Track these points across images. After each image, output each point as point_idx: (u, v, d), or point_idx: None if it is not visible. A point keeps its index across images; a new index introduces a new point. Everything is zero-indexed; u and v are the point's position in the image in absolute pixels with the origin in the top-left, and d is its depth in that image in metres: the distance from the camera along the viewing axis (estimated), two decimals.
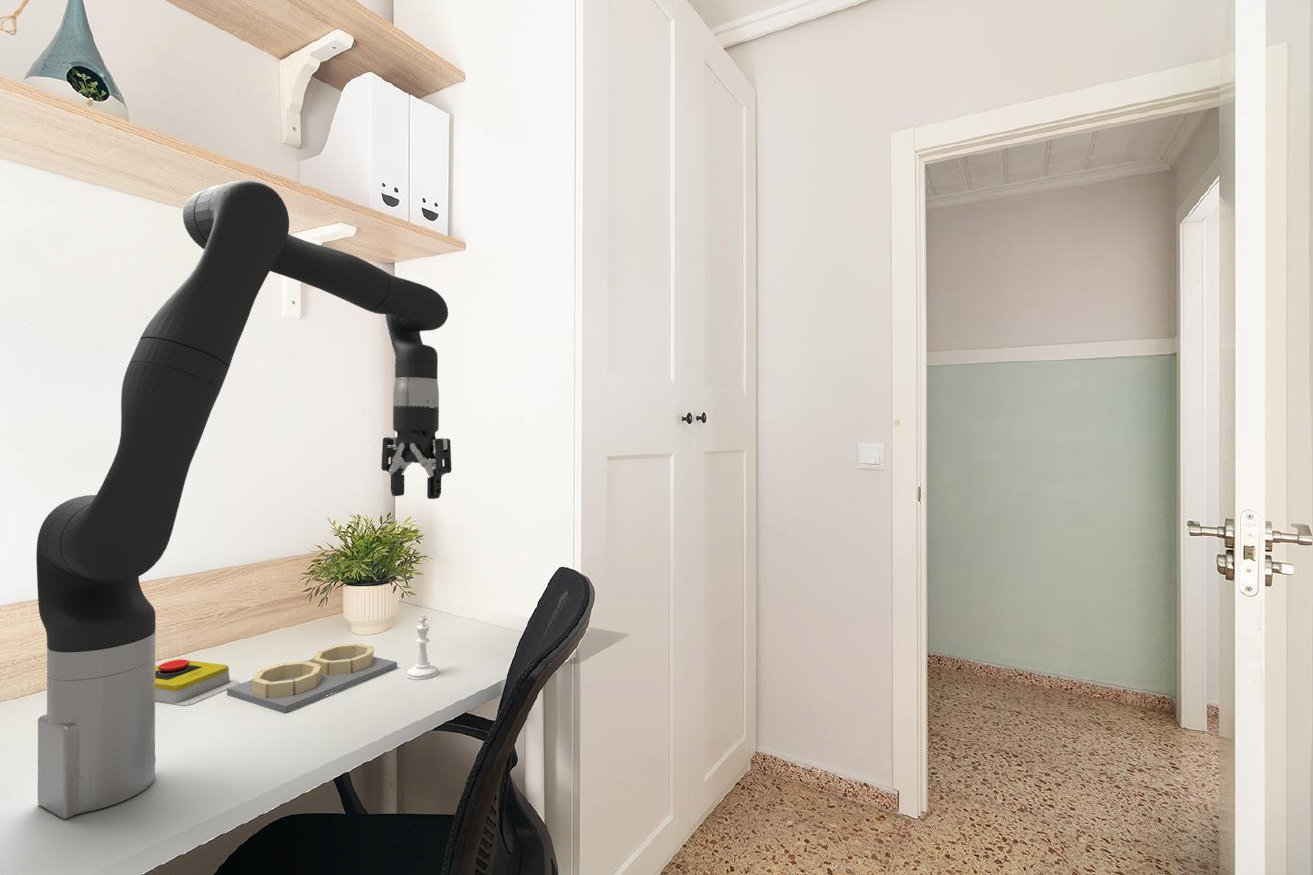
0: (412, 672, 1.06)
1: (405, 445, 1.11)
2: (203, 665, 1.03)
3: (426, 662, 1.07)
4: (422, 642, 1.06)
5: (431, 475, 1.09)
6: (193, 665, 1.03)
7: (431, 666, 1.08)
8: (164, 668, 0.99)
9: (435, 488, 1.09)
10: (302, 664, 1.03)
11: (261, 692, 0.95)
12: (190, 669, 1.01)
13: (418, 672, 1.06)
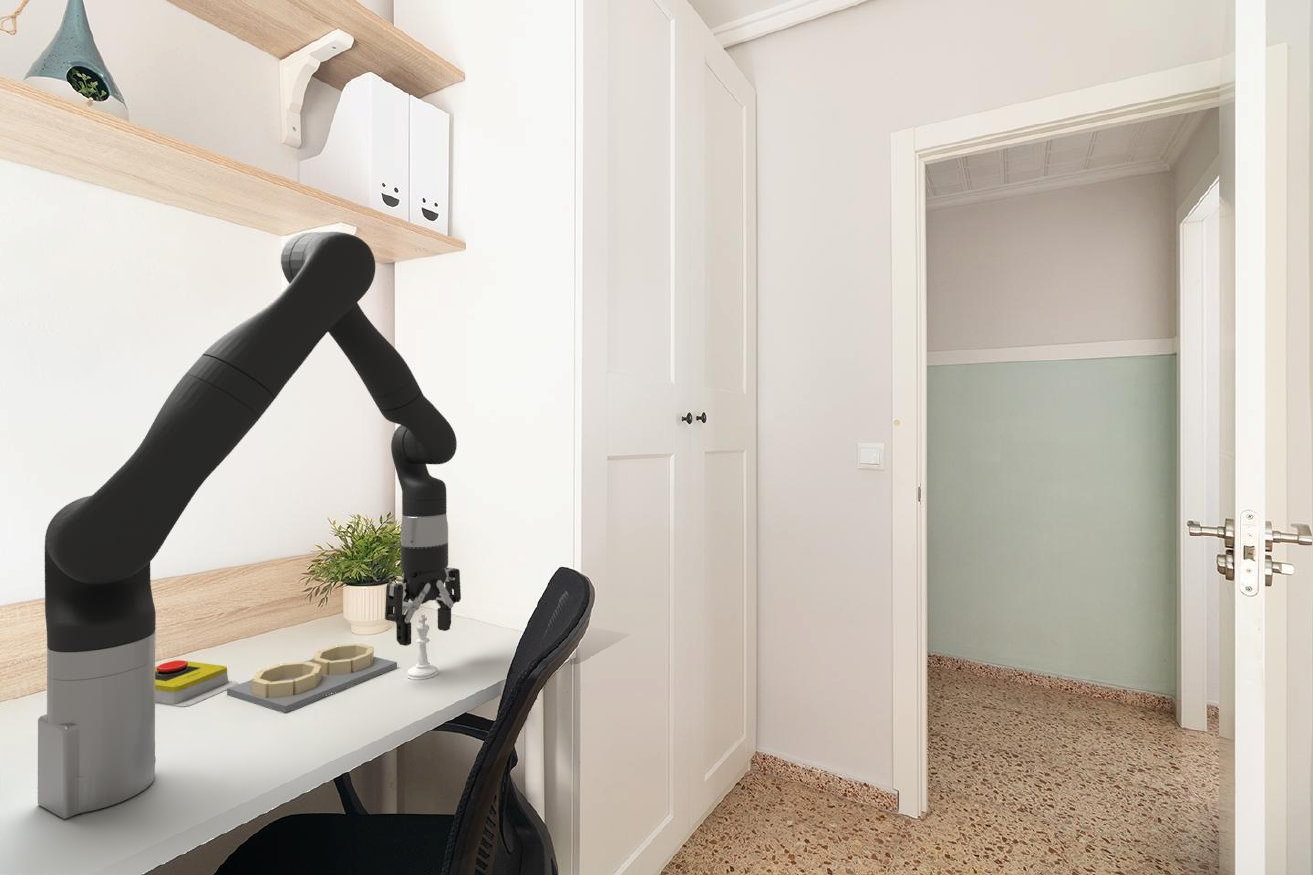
0: (412, 672, 1.06)
1: (429, 585, 1.06)
2: (201, 666, 1.03)
3: (426, 662, 1.07)
4: (422, 642, 1.06)
5: (451, 606, 1.11)
6: (191, 666, 1.03)
7: (431, 666, 1.08)
8: (162, 669, 0.98)
9: (450, 618, 1.12)
10: (302, 664, 1.03)
11: (261, 692, 0.95)
12: (188, 670, 1.01)
13: (418, 672, 1.06)
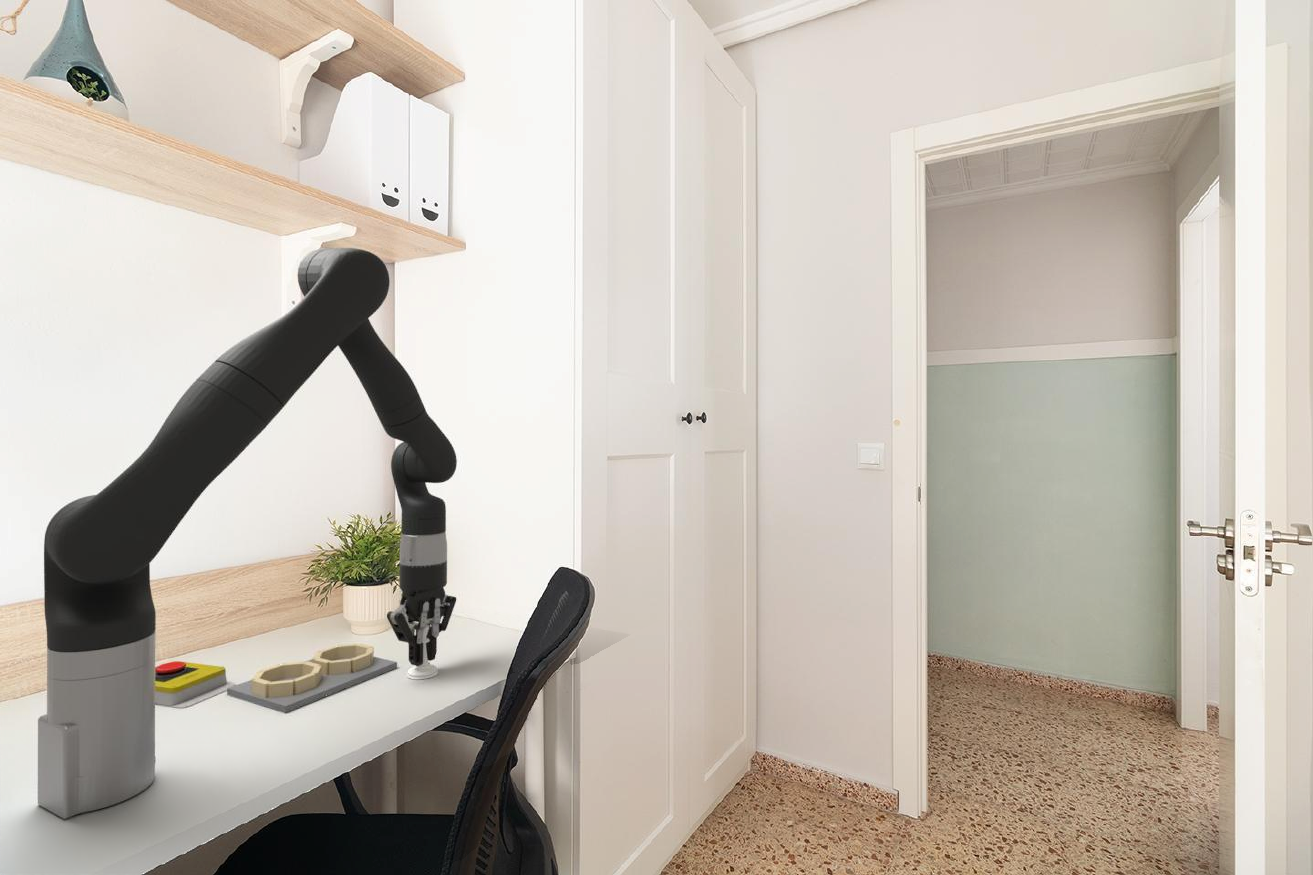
0: (412, 671, 1.06)
1: (427, 602, 1.06)
2: (200, 667, 1.02)
3: (426, 662, 1.07)
4: (422, 642, 1.06)
5: (437, 635, 1.09)
6: (189, 667, 1.02)
7: (431, 666, 1.08)
8: (160, 670, 0.98)
9: (435, 647, 1.09)
10: (302, 664, 1.03)
11: (261, 692, 0.95)
12: (187, 671, 1.01)
13: (418, 671, 1.06)
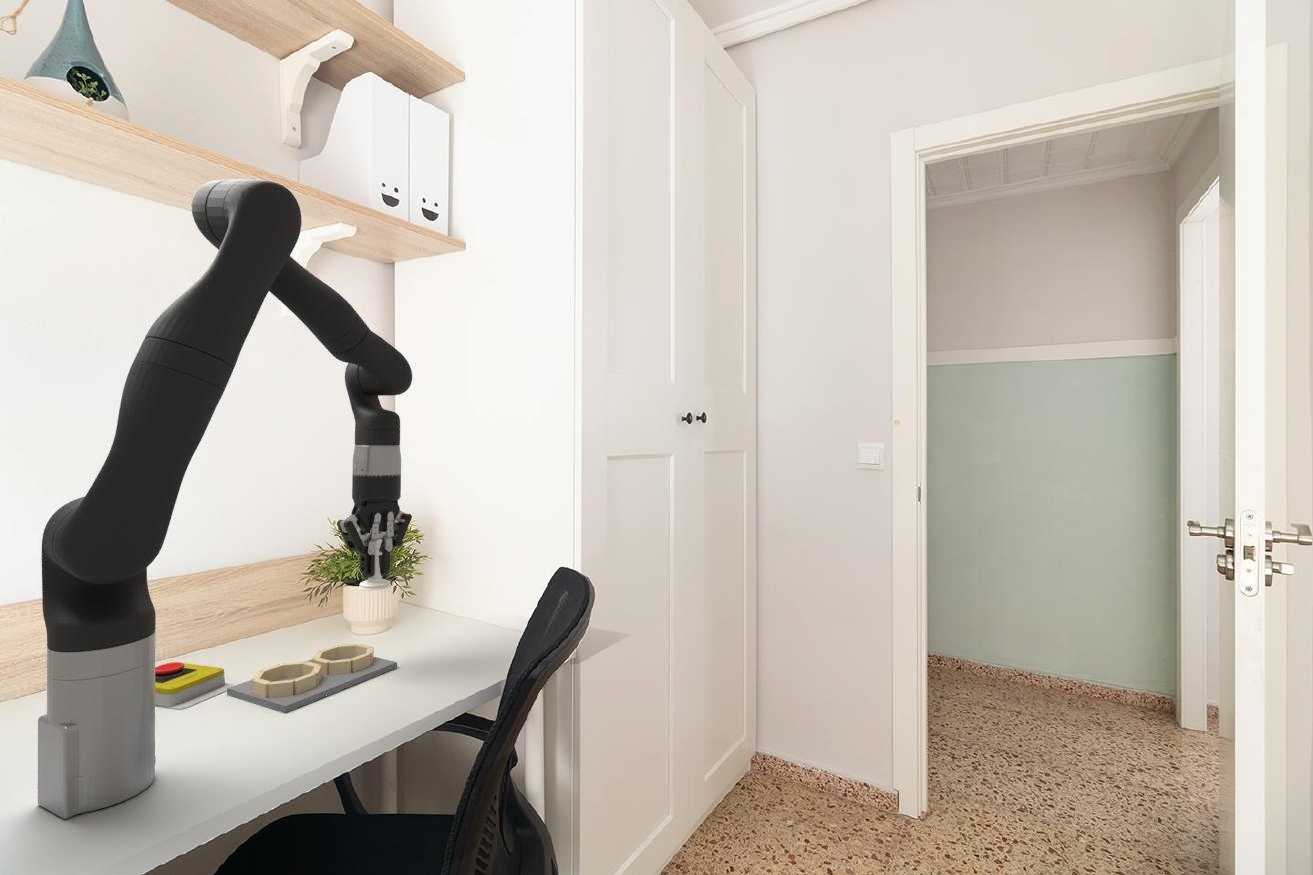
0: (364, 583, 1.06)
1: (379, 513, 1.06)
2: (198, 668, 1.02)
3: (378, 575, 1.07)
4: (374, 554, 1.07)
5: (390, 549, 1.09)
6: (188, 668, 1.02)
7: (384, 579, 1.08)
8: (158, 671, 0.97)
9: (389, 562, 1.09)
10: (302, 664, 1.03)
11: (261, 692, 0.95)
12: (185, 672, 1.00)
13: (369, 583, 1.06)
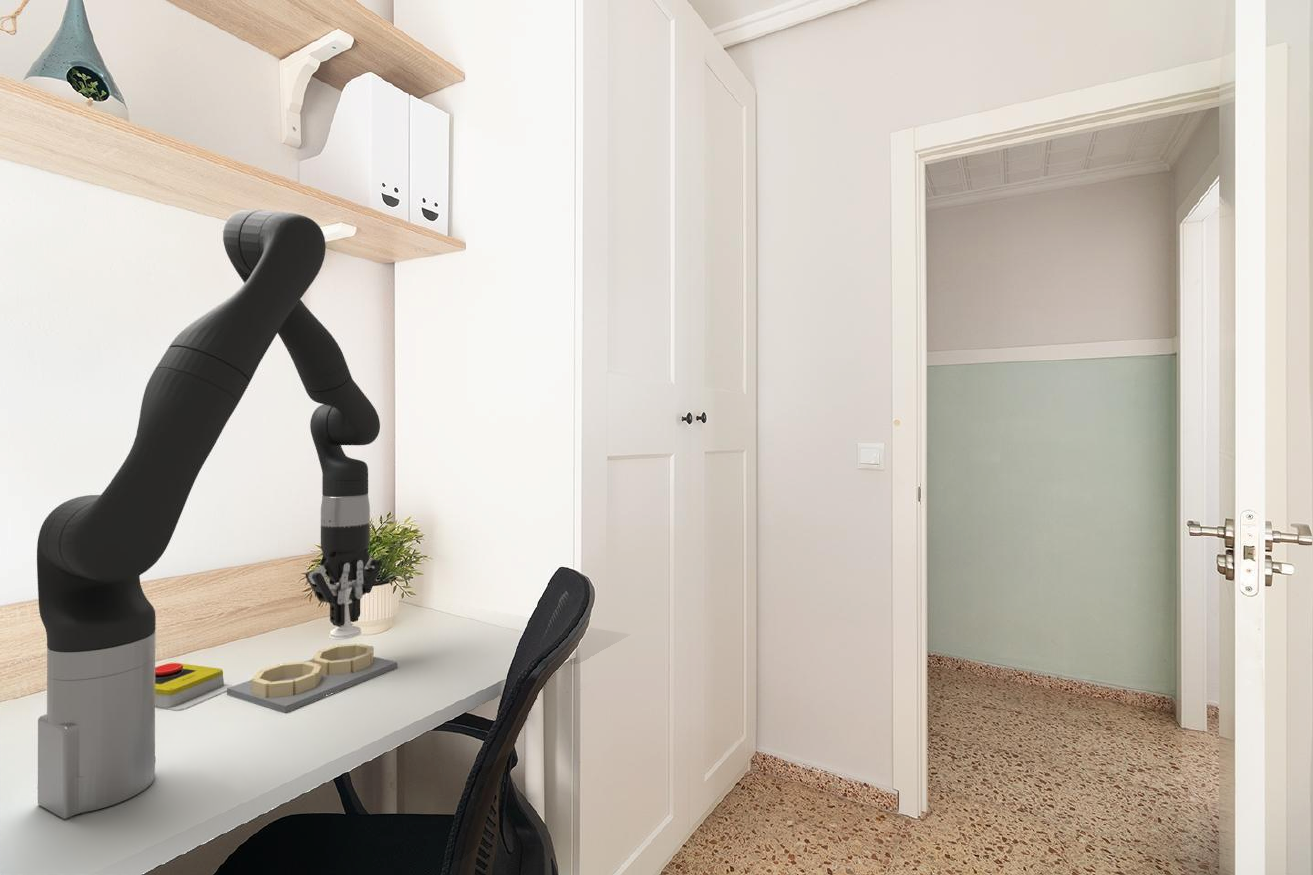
0: (334, 632, 1.07)
1: (348, 563, 1.07)
2: (197, 669, 1.02)
3: (348, 623, 1.08)
4: (344, 603, 1.08)
5: (360, 597, 1.10)
6: (186, 669, 1.01)
7: (354, 627, 1.09)
8: (157, 672, 0.97)
9: (359, 609, 1.10)
10: (302, 664, 1.03)
11: (261, 692, 0.95)
12: (184, 673, 1.00)
13: (339, 632, 1.07)
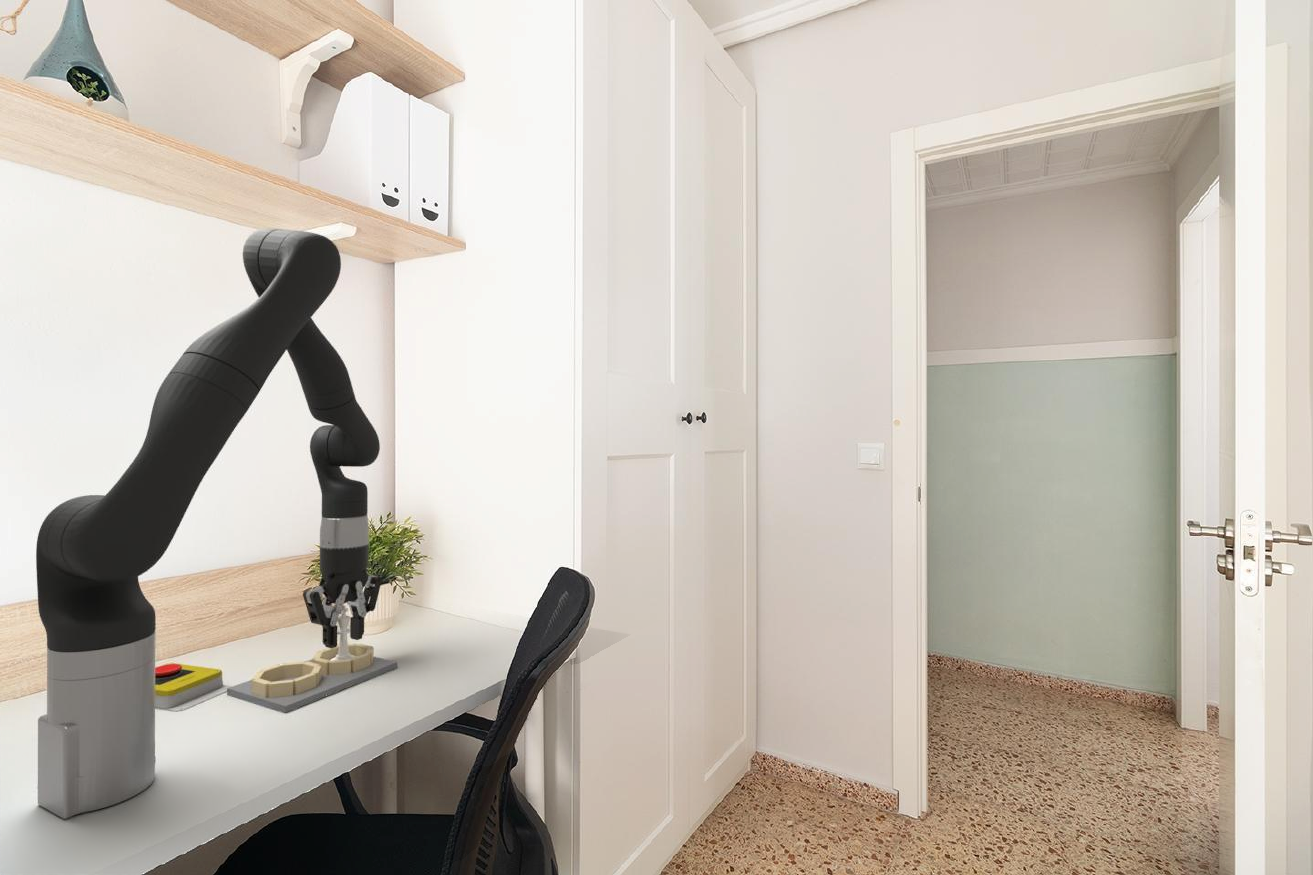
0: None
1: (347, 585, 1.07)
2: (196, 669, 1.01)
3: (346, 653, 1.08)
4: (342, 633, 1.07)
5: (364, 615, 1.11)
6: (185, 670, 1.01)
7: (352, 657, 1.09)
8: (156, 673, 0.97)
9: (363, 627, 1.11)
10: (302, 664, 1.03)
11: (261, 692, 0.95)
12: (183, 673, 0.99)
13: None
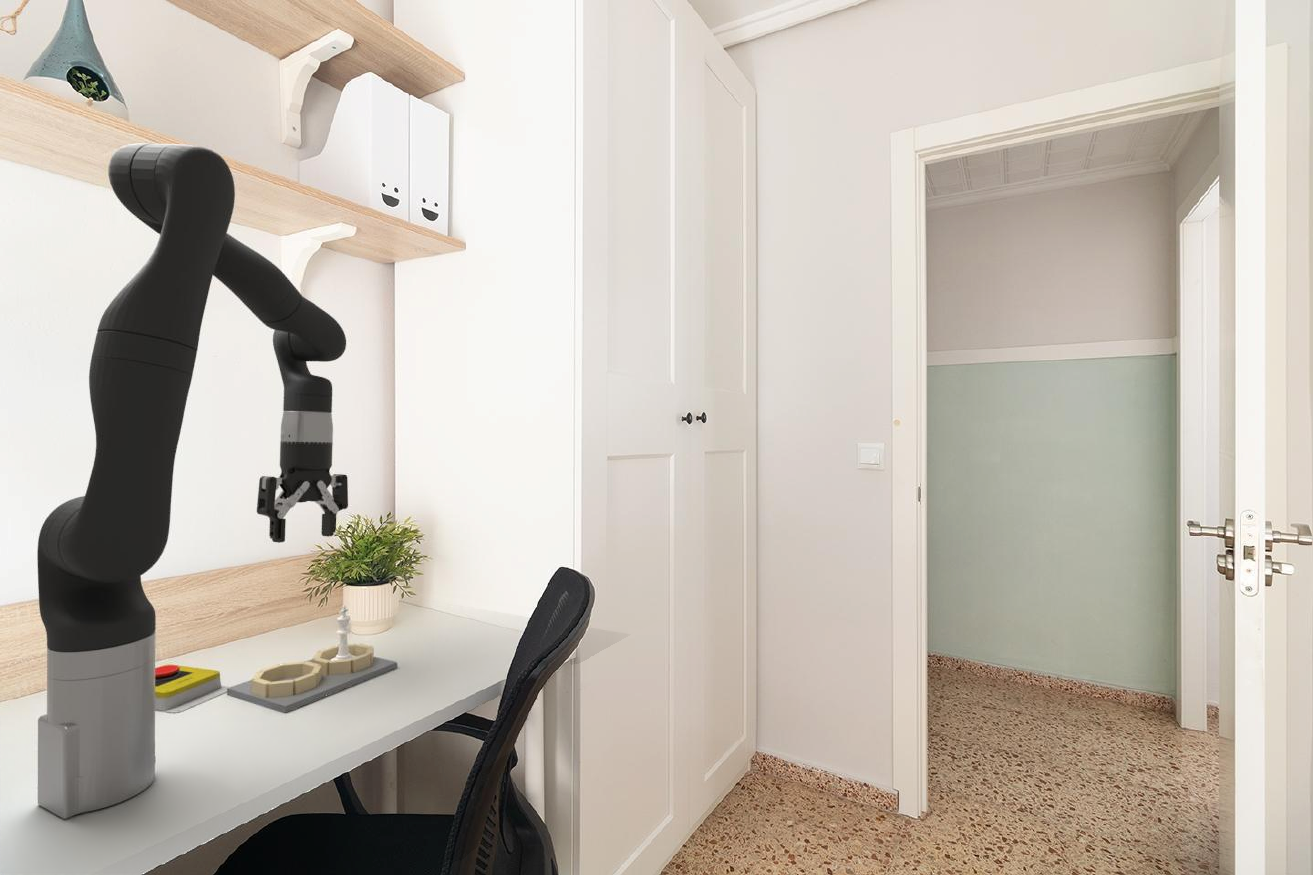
0: None
1: (308, 483, 1.03)
2: (194, 671, 1.01)
3: (346, 653, 1.08)
4: (342, 633, 1.07)
5: (336, 511, 1.08)
6: (183, 671, 1.00)
7: (352, 657, 1.09)
8: None
9: (335, 524, 1.09)
10: (302, 664, 1.03)
11: (261, 692, 0.95)
12: (180, 675, 0.99)
13: None
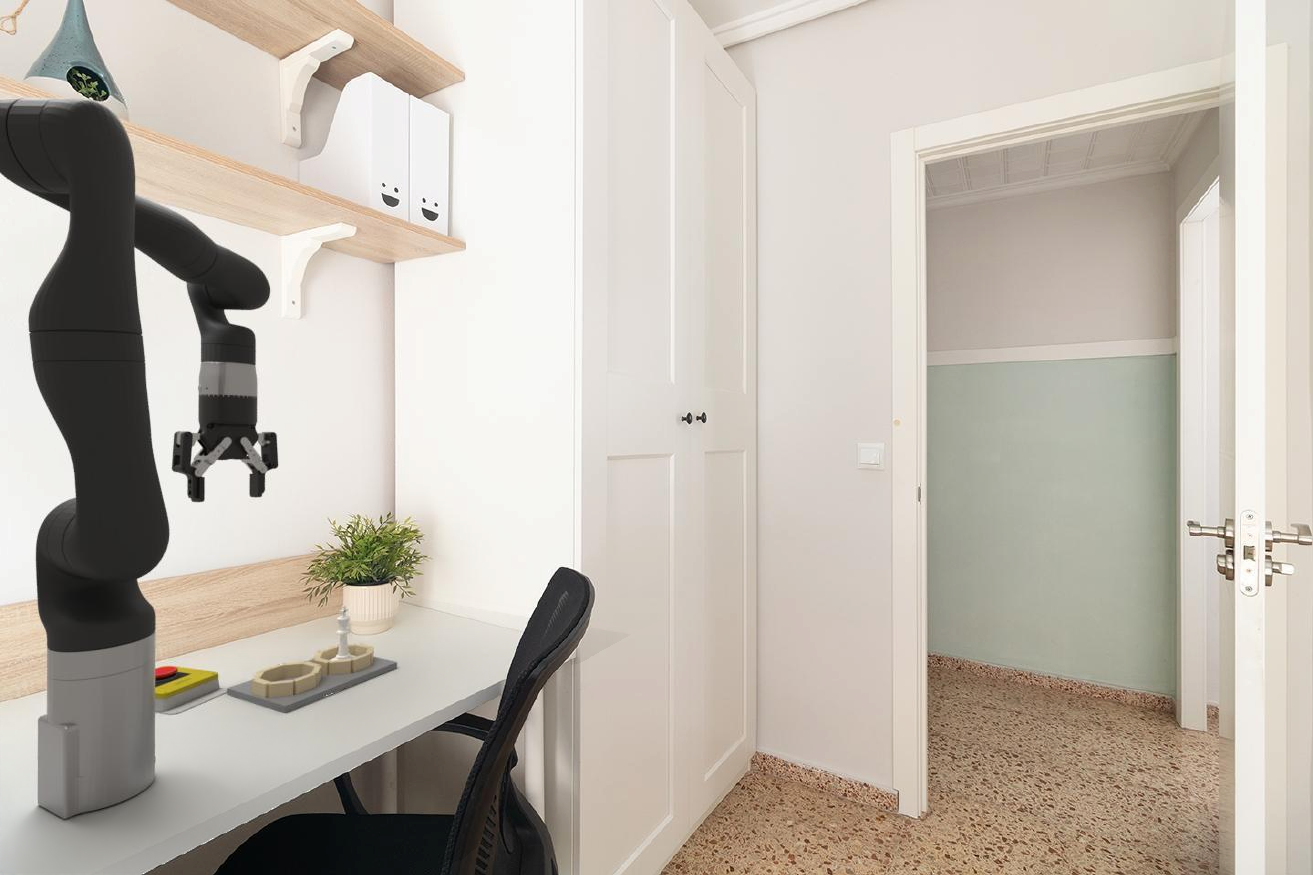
0: None
1: (230, 440, 0.97)
2: (192, 672, 1.00)
3: (346, 653, 1.08)
4: (342, 633, 1.08)
5: (265, 471, 1.02)
6: (181, 672, 1.00)
7: (352, 657, 1.09)
8: None
9: (264, 485, 1.02)
10: (302, 664, 1.03)
11: (261, 692, 0.95)
12: (178, 676, 0.98)
13: None
